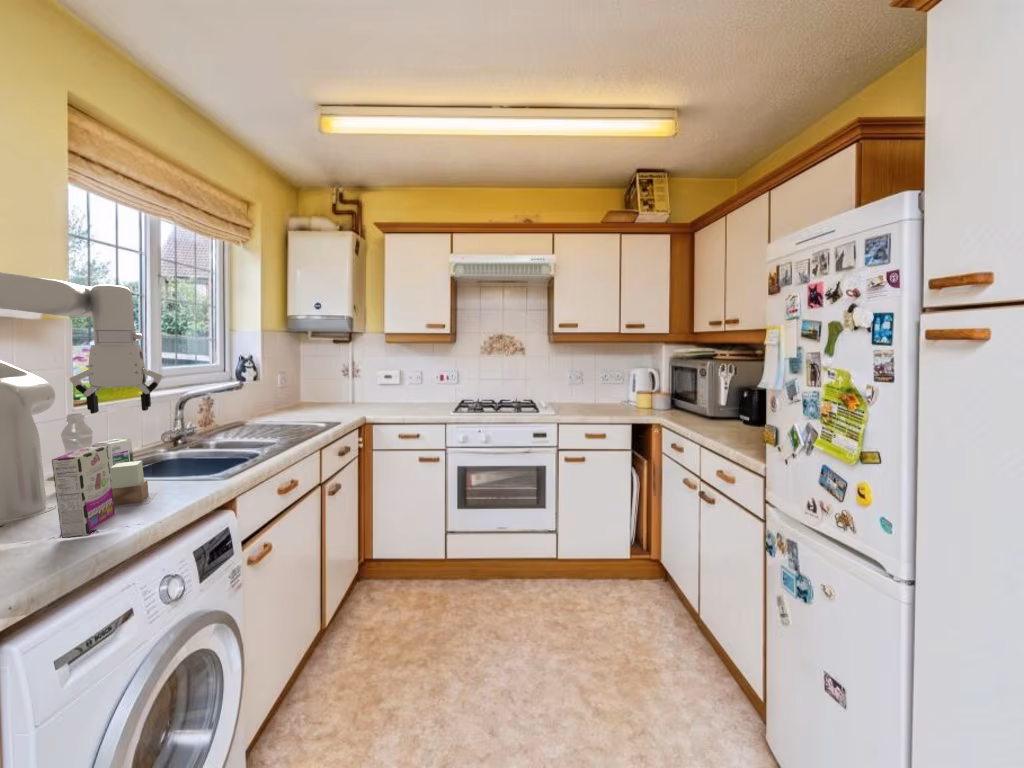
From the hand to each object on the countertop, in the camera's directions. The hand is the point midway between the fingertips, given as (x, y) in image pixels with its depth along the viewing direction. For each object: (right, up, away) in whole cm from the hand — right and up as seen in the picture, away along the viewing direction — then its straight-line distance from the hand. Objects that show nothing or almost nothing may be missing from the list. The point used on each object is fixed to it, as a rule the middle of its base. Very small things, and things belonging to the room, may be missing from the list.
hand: (120, 411), depth 116 cm
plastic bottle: (-27, -22, +20) cm, 40 cm away
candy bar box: (+4, -24, -13) cm, 27 cm away
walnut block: (+1, -22, +2) cm, 22 cm away
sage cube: (+1, -18, +2) cm, 18 cm away
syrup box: (-8, -23, +9) cm, 25 cm away
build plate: (+1, -23, +2) cm, 23 cm away
